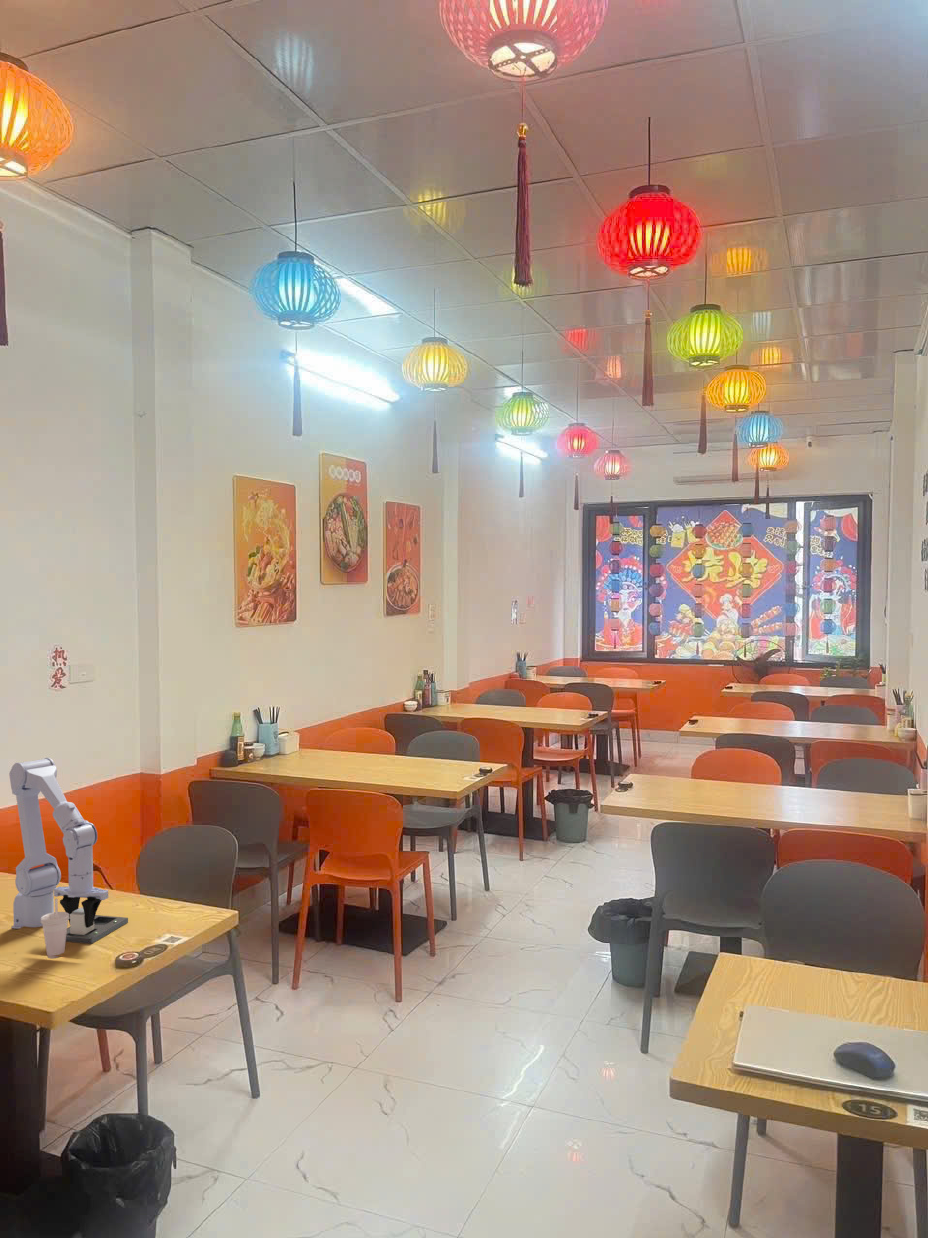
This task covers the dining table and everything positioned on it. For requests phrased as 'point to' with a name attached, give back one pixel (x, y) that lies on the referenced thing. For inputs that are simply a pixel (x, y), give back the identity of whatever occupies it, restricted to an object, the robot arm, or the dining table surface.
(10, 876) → the dining table surface
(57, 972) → the dining table surface
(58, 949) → the smoothie
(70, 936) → the panel
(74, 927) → the beige rectangular block
